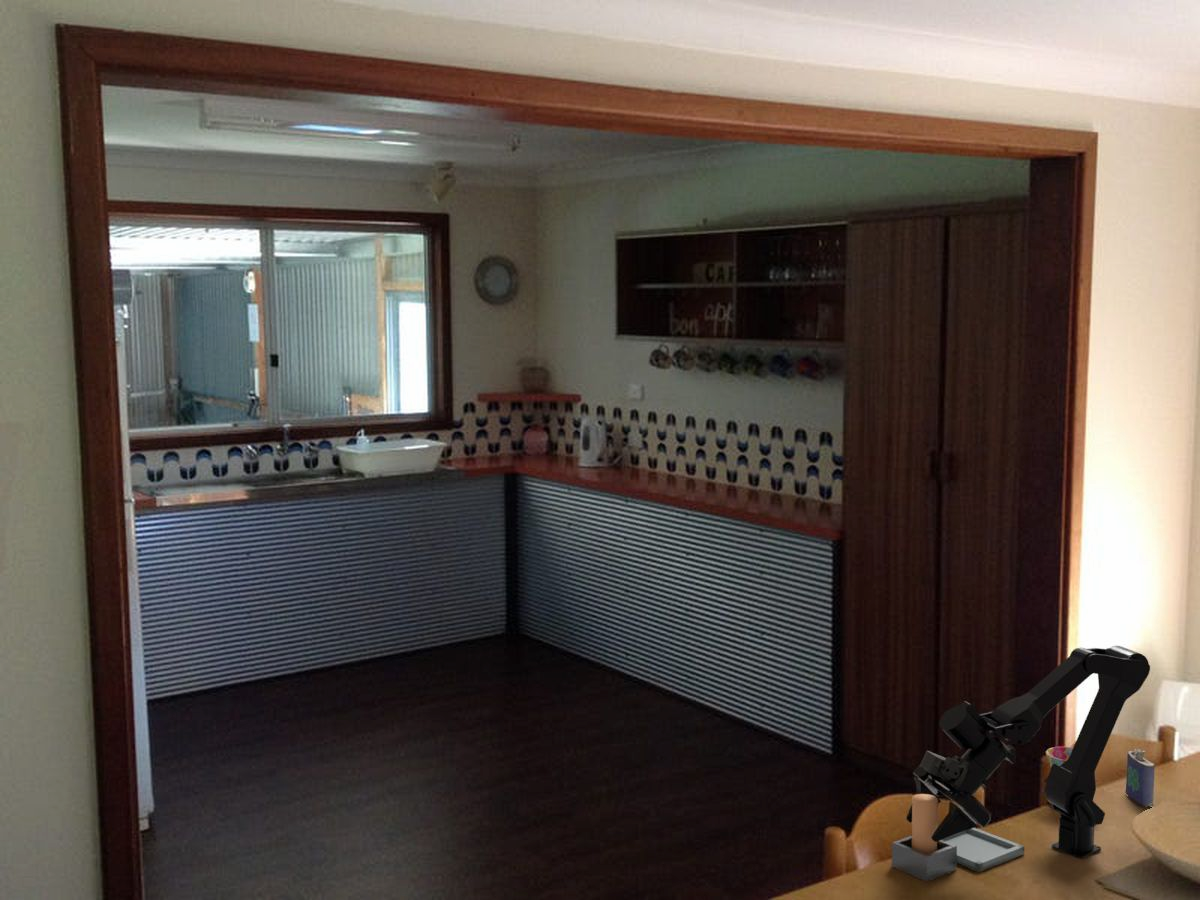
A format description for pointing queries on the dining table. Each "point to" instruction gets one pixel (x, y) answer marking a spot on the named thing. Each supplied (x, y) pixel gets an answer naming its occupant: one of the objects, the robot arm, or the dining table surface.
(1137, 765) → the flask
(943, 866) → the square socket holder
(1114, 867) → the dining table surface
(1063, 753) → the mug
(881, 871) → the dining table surface
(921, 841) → the peg
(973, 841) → the tray
